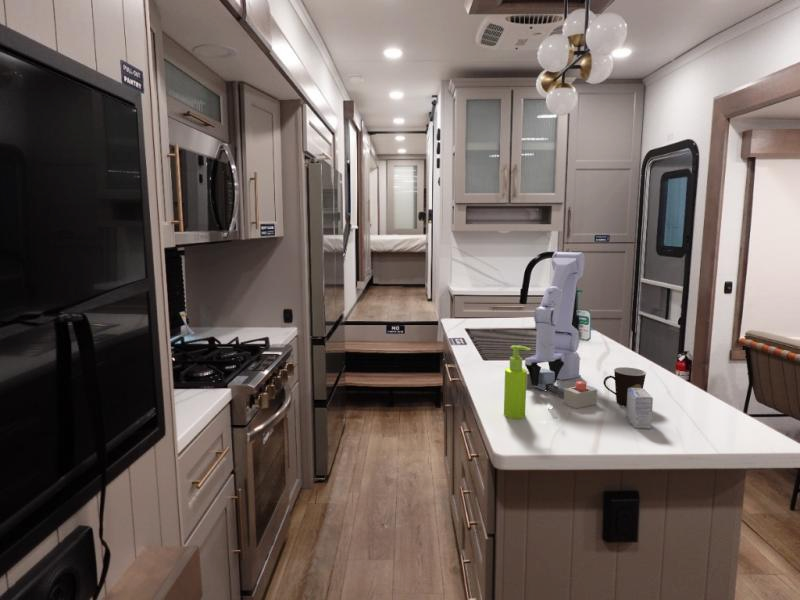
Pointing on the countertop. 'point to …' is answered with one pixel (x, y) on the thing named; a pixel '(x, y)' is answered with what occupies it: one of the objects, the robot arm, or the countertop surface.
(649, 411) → the medicine box
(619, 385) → the coffee mug
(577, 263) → the robot arm
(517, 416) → the soap dispenser
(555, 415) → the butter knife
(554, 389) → the rail
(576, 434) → the countertop surface
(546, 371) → the carriage
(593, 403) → the cabinet
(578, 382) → the red rounded piece
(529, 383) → the cabinet
